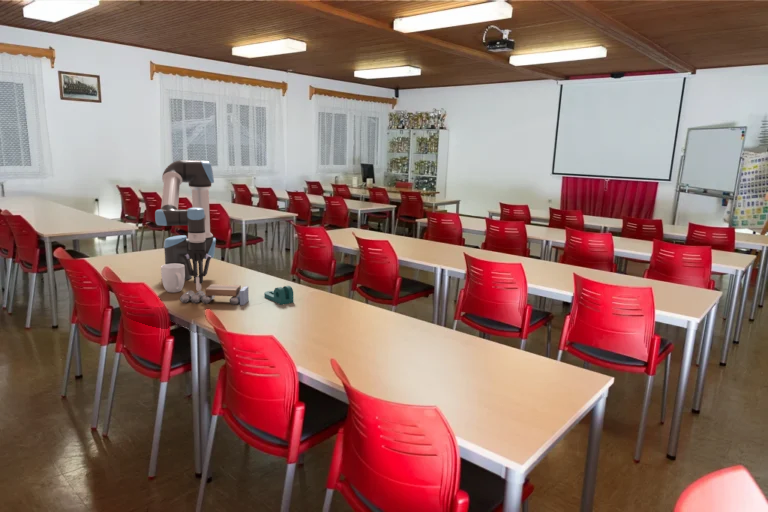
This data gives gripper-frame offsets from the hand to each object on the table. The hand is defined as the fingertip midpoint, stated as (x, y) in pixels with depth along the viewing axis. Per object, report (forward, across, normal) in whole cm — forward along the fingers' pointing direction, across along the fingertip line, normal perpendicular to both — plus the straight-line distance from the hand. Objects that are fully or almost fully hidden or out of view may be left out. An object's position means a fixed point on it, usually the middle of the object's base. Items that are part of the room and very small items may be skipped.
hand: (198, 289), depth 243 cm
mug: (+6, -17, +15) cm, 24 cm away
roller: (+4, +18, -1) cm, 18 cm away
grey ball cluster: (+5, 0, 0) cm, 5 cm away
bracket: (+6, +36, +6) cm, 37 cm away
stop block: (+5, +22, -1) cm, 22 cm away
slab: (+1, +12, -1) cm, 12 cm away
